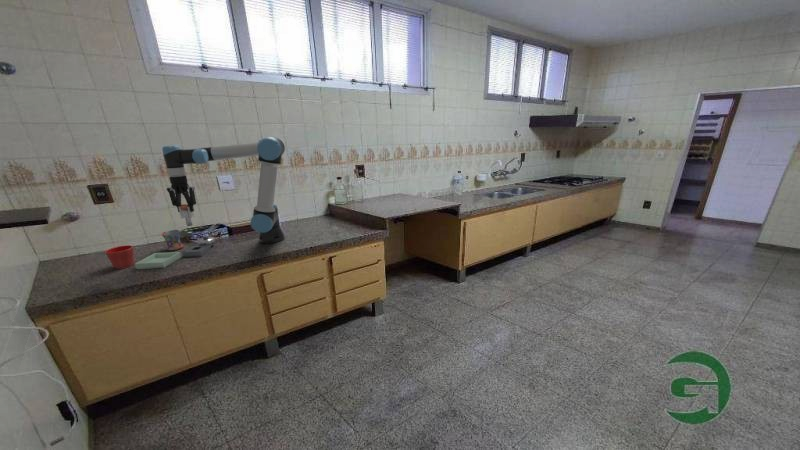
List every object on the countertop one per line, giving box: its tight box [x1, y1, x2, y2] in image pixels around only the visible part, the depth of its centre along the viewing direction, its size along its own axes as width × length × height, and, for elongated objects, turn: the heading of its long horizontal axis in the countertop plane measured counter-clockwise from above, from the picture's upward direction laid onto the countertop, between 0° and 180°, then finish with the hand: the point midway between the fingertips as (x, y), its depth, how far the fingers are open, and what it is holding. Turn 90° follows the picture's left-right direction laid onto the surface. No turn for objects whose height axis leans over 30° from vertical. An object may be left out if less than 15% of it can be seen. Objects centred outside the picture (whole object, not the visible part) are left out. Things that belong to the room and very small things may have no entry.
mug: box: [160, 229, 184, 251], centre depth 181 cm, size 12×9×11 cm
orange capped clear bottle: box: [180, 203, 193, 227], centre depth 166 cm, size 4×4×12 cm
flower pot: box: [104, 244, 135, 270], centre depth 157 cm, size 11×11×10 cm
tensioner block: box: [181, 235, 216, 258], centre depth 177 cm, size 10×20×7 cm, turn 3°
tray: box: [134, 251, 183, 270], centre depth 161 cm, size 14×14×3 cm
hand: (187, 217), depth 166 cm, fingers closed on orange capped clear bottle, 4 cm apart
